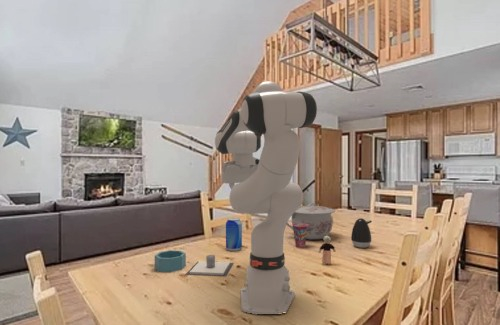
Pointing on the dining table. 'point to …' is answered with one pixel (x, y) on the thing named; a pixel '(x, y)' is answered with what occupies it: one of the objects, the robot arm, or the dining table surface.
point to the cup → (300, 234)
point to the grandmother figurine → (326, 251)
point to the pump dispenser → (361, 233)
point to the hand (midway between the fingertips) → (242, 192)
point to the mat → (211, 275)
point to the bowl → (170, 261)
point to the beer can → (233, 234)
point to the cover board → (209, 270)
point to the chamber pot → (314, 220)
